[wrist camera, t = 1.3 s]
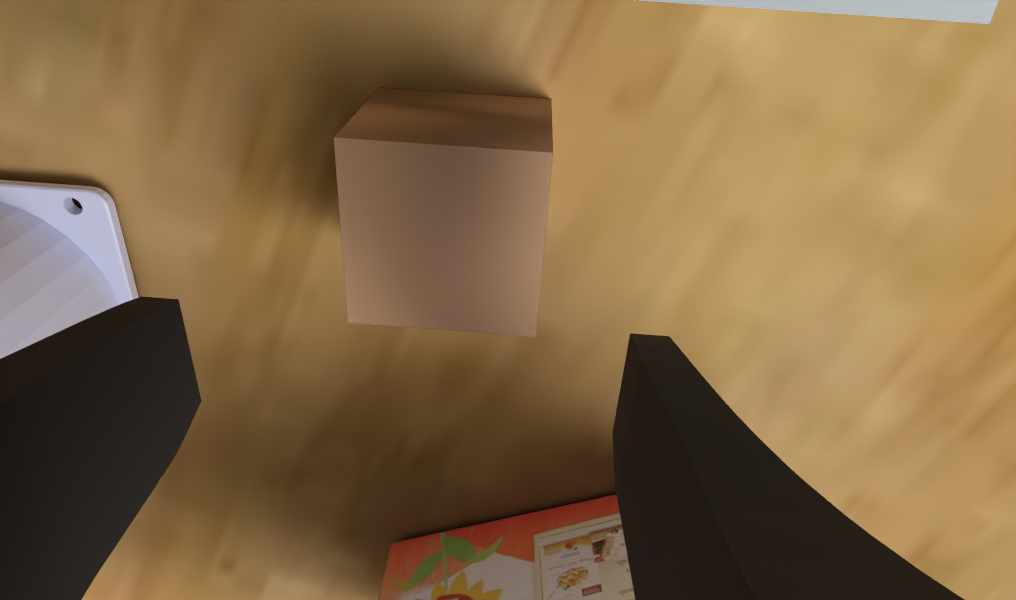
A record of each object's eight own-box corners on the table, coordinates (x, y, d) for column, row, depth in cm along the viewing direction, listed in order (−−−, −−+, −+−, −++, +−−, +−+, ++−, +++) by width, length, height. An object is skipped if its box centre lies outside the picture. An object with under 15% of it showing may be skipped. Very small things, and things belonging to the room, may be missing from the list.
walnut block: (386, 241, 20) (347, 322, 16) (380, 86, 18) (333, 137, 14) (537, 252, 20) (536, 336, 16) (551, 98, 18) (553, 152, 14)
